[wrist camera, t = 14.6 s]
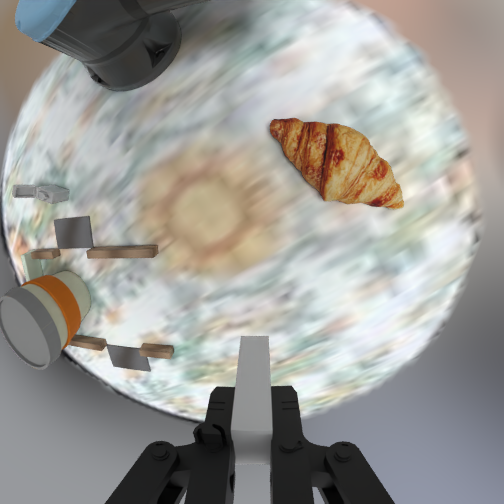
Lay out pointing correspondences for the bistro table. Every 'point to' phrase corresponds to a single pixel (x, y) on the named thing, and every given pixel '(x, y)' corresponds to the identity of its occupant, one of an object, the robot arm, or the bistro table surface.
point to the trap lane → (80, 236)
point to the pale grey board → (31, 266)
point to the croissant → (338, 162)
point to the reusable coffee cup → (43, 316)
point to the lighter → (41, 193)
